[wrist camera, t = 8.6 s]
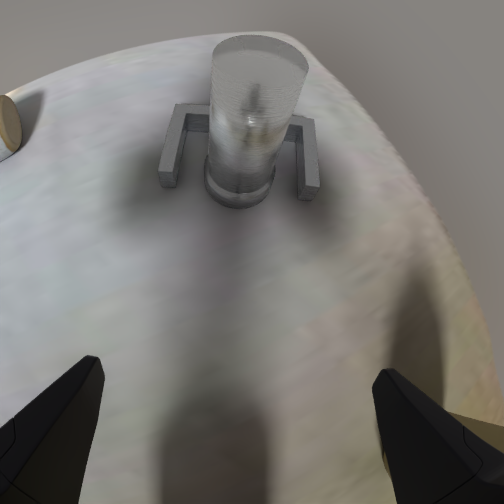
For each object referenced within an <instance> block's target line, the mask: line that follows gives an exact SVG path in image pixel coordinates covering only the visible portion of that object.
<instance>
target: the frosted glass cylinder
mask: <svg viewBox="0 0 504 504" xmlns="http://www.w3.org/2000/svg"><path fill="white" fill-rule="evenodd" d="M308 69H309V66H308V62H307V60H306V58H305V57H304V55H303V54H302V53H301V52H300V51H299V50H297V49H296V48H295V47H293V46H292V45H290V44H288V43H286V42H284V41H281V40H279V39H276V38H272V37H268V36H262V35H241V36H235V37H232V38H229V39H226V40H224V41H222V42H221V43H219V44H218V45H217V46H216V47H215V49H214V51H213V57H212V74H211V94H210V118H209V152H208V155H207V157H206V160H205V167H204V174H205V186H206V189H207V191H208V193H209V194H210V195H211V197H212V198H213V199H214V200H216V201H217V202H218V203H220V204H222V205H224V206H227V207H230V208H237V209H242V208H248V207H252V206H254V205H256V204H258V203H260V202H261V201H262V200H263V199H264V198H265V197H266V196H267V194H268V192H269V190H270V187H271V184H272V182H273V179H274V176H275V162H276V160H277V157H278V154H279V151H280V148H281V145H282V143H283V140H284V137H285V134H286V131H287V129H288V126H289V123H290V120H291V117H292V115H293V112H294V109H295V106H296V103H297V101H298V98H299V95H300V92H301V89H302V87H303V84H304V81H305V78H306V76H307V73H308Z"/></svg>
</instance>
